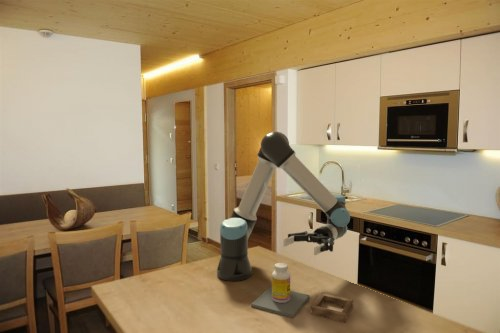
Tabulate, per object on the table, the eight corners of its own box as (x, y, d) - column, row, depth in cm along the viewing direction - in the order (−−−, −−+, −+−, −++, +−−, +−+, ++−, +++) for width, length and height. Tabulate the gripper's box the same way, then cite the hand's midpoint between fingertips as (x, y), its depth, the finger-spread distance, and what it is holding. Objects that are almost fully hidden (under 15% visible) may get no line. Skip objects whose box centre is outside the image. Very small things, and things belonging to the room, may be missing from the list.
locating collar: (310, 313, 119) (311, 306, 119) (321, 299, 129) (321, 292, 129) (344, 322, 114) (345, 315, 114) (353, 306, 124) (353, 300, 124)
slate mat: (251, 306, 125) (251, 303, 125) (270, 288, 139) (270, 286, 138) (293, 318, 117) (293, 315, 117) (309, 297, 131) (309, 295, 131)
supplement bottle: (289, 304, 124) (289, 269, 123) (270, 302, 125) (270, 268, 124) (290, 295, 130) (291, 262, 129) (273, 294, 132) (273, 261, 130)
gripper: (352, 250, 143) (328, 265, 127) (299, 237, 159) (272, 248, 142) (353, 232, 142) (329, 245, 126) (300, 220, 158) (272, 230, 141)
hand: (299, 247), depth 134 cm, fingers open, 13 cm apart
